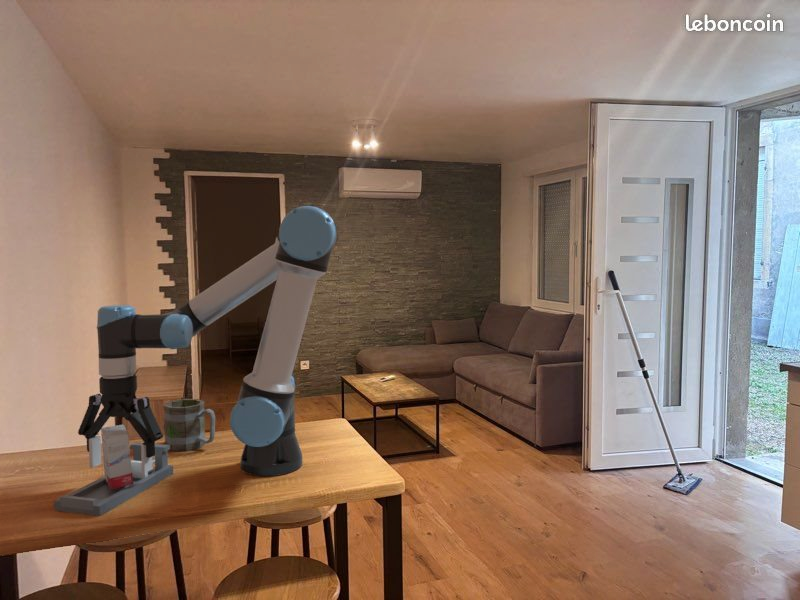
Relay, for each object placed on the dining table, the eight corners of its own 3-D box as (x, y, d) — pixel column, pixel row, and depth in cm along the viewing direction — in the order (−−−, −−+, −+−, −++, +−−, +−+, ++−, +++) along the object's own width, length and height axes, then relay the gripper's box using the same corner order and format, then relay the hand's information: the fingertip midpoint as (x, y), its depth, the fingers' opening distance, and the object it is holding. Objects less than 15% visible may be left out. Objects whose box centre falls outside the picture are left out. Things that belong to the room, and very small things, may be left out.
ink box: (133, 485, 128) (130, 433, 127) (108, 491, 126) (104, 437, 124) (127, 472, 136) (124, 423, 134) (103, 477, 133) (100, 427, 132)
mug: (155, 449, 159) (154, 405, 158) (184, 438, 169) (183, 397, 168) (200, 456, 153) (199, 411, 152) (228, 444, 163) (227, 402, 162)
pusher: (177, 461, 146) (176, 446, 145) (145, 478, 134) (144, 463, 134) (153, 459, 147) (153, 444, 147) (119, 476, 136) (119, 460, 136)
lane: (173, 473, 141) (172, 445, 140) (99, 516, 118) (98, 482, 117) (134, 469, 144) (133, 441, 143) (54, 510, 120) (53, 477, 120)
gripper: (177, 374, 130) (180, 467, 132) (83, 369, 136) (87, 458, 138) (155, 381, 123) (158, 479, 125) (57, 375, 129) (61, 469, 131)
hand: (121, 468), depth 131 cm, fingers open, 13 cm apart
